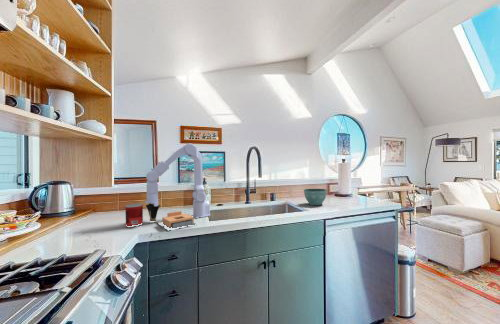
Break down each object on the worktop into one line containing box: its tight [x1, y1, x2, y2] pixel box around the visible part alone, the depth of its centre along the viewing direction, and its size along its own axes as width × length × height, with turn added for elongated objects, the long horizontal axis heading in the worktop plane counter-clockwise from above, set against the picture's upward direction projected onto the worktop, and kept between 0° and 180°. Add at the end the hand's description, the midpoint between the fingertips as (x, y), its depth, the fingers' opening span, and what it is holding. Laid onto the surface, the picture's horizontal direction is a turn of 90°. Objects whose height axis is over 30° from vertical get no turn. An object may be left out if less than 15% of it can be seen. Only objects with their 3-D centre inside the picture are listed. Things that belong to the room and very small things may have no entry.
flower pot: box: [303, 188, 327, 206], centre depth 157 cm, size 16×16×11 cm
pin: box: [149, 213, 157, 222], centre depth 117 cm, size 3×3×7 cm
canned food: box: [125, 202, 144, 226], centre depth 111 cm, size 8×8×11 cm
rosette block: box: [171, 218, 196, 228], centre depth 112 cm, size 14×18×3 cm
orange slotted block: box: [161, 210, 195, 228], centre depth 109 cm, size 12×11×5 cm
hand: (152, 217), depth 117 cm, fingers closed on pin, 3 cm apart
